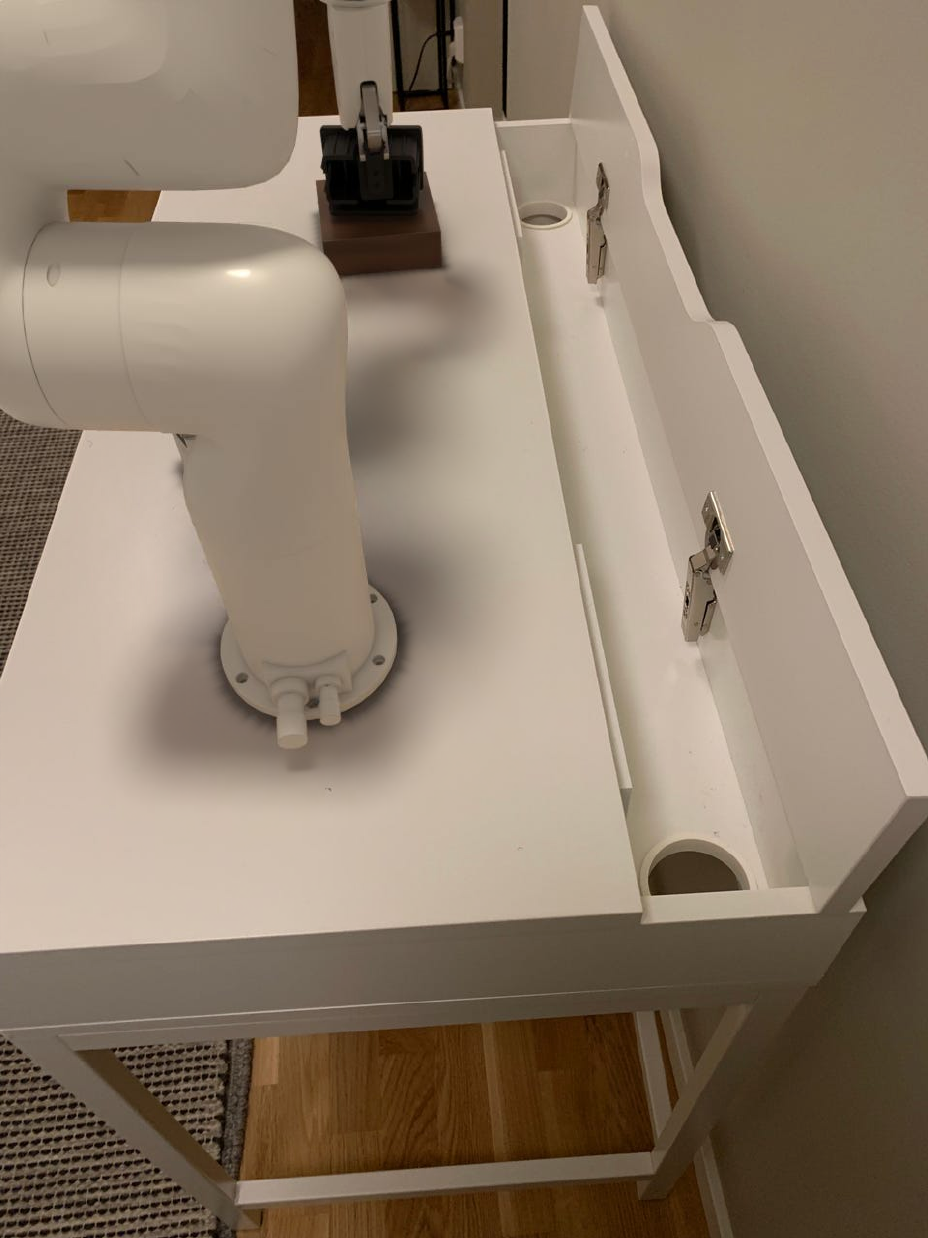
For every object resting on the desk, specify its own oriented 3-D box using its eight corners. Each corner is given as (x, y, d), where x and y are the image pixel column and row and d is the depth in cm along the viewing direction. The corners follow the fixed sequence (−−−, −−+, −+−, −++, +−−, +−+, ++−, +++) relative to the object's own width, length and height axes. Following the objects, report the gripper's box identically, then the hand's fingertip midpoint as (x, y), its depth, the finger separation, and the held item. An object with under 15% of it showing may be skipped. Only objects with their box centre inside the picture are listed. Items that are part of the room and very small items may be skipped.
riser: (441, 266, 92) (441, 230, 89) (327, 277, 91) (322, 241, 88) (427, 206, 99) (426, 170, 96) (320, 215, 98) (315, 179, 95)
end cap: (424, 180, 93) (422, 113, 88) (422, 216, 89) (419, 148, 83) (330, 180, 93) (322, 113, 88) (323, 216, 89) (314, 148, 83)
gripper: (306, -63, 80) (331, 137, 94) (317, 14, 69) (342, 225, 84) (389, -68, 80) (400, 132, 94) (411, 8, 70) (420, 218, 84)
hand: (373, 175), depth 89 cm, fingers closed on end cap, 7 cm apart
